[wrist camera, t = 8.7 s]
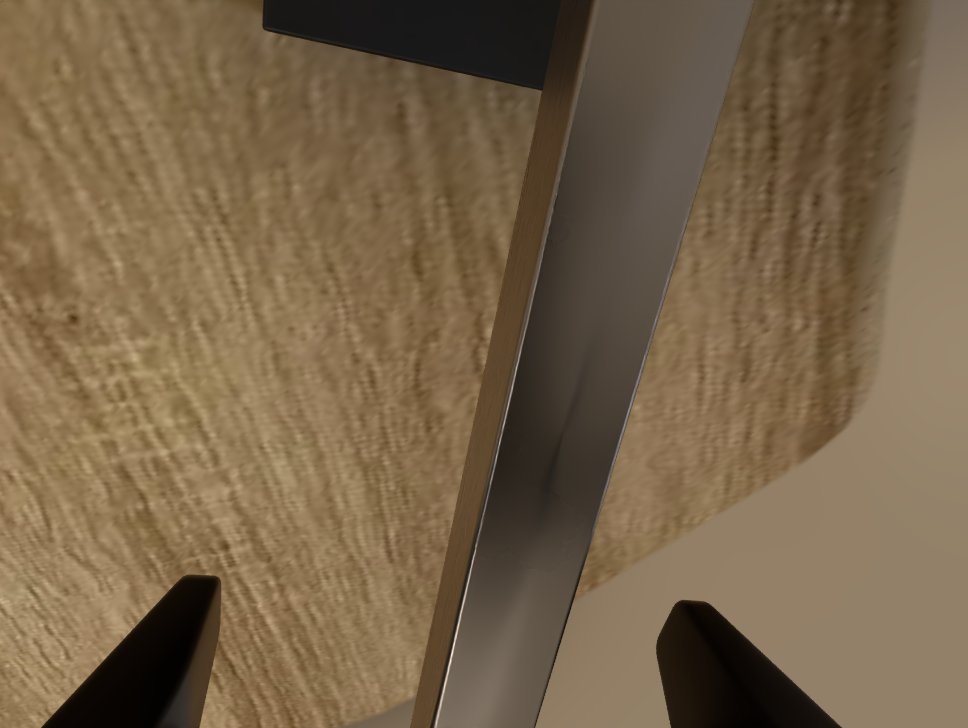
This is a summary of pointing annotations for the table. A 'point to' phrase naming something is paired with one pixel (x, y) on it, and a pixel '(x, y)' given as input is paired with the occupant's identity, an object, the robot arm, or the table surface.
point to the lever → (571, 337)
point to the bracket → (431, 32)
